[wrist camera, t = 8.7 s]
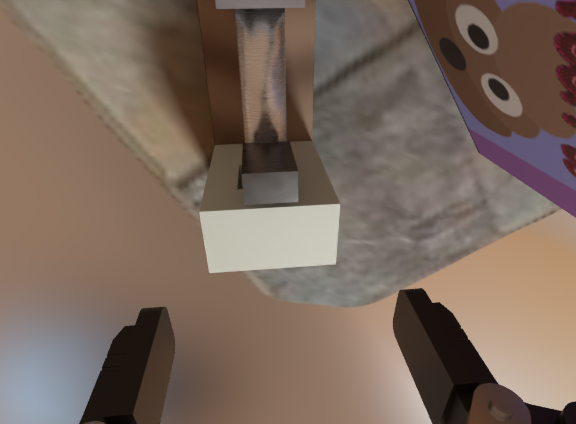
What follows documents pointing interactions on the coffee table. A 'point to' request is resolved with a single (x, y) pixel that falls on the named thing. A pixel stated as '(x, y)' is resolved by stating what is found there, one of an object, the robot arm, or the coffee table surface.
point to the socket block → (268, 217)
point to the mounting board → (225, 66)
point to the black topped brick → (264, 108)
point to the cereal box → (512, 83)
